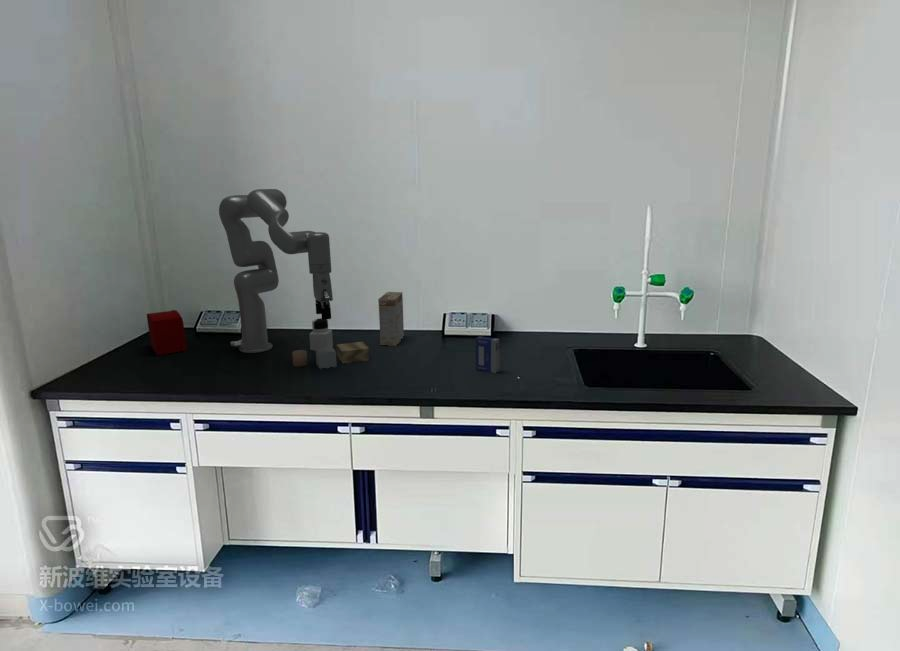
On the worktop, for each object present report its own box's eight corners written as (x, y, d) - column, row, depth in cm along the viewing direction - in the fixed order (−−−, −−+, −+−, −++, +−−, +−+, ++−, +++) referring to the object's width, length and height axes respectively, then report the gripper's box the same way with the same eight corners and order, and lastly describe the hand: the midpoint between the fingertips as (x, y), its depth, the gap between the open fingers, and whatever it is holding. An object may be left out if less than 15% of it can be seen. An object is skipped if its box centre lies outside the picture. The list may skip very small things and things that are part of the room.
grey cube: (320, 369, 204) (318, 353, 202) (316, 364, 209) (315, 349, 208) (336, 367, 206) (335, 351, 205) (332, 362, 212) (332, 346, 210)
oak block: (342, 364, 210) (341, 351, 209) (337, 357, 219) (336, 344, 218) (369, 361, 213) (368, 348, 212) (363, 354, 222) (362, 341, 221)
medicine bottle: (333, 346, 232) (331, 317, 229) (327, 351, 225) (325, 321, 223) (316, 345, 233) (314, 317, 230) (310, 350, 226) (308, 321, 223)
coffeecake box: (388, 336, 247) (386, 291, 242) (404, 336, 246) (403, 291, 241) (379, 345, 232) (377, 298, 227) (396, 346, 231) (395, 299, 226)
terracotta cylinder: (294, 368, 206) (293, 354, 204) (292, 364, 210) (291, 351, 209) (308, 366, 208) (307, 352, 206) (306, 362, 212) (305, 349, 211)
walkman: (475, 370, 201) (475, 337, 198) (479, 367, 204) (479, 335, 201) (496, 373, 197) (496, 339, 194) (499, 371, 200) (499, 337, 197)
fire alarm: (187, 351, 227) (182, 314, 223) (157, 356, 221) (152, 318, 217) (179, 342, 240) (175, 307, 236) (151, 347, 234) (146, 311, 230)
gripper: (336, 270, 193) (339, 320, 197) (325, 264, 208) (328, 310, 212) (314, 272, 190) (317, 322, 194) (304, 266, 205) (308, 312, 209)
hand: (323, 316), depth 203 cm, fingers open, 9 cm apart
